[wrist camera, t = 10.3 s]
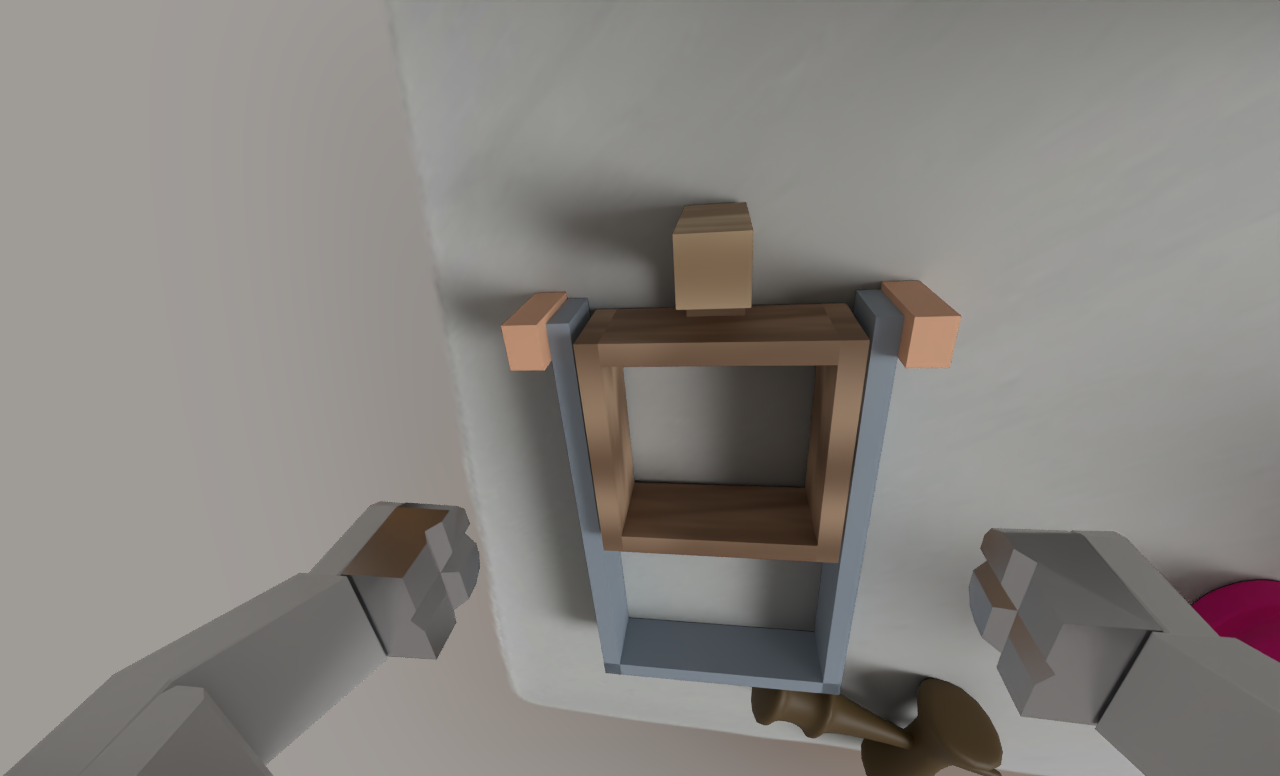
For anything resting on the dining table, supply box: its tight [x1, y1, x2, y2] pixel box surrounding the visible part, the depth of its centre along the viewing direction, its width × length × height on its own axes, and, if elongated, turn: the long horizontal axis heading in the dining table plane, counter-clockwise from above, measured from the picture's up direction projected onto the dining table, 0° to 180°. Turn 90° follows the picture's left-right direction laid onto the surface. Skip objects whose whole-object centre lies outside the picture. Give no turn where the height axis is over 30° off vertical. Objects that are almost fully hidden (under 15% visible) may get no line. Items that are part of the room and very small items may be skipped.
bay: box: [501, 281, 961, 695], centre depth 32 cm, size 28×20×5 cm
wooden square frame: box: [573, 202, 870, 563], centre depth 26 cm, size 19×13×7 cm
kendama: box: [751, 678, 1003, 776], centre depth 39 cm, size 6×10×20 cm
